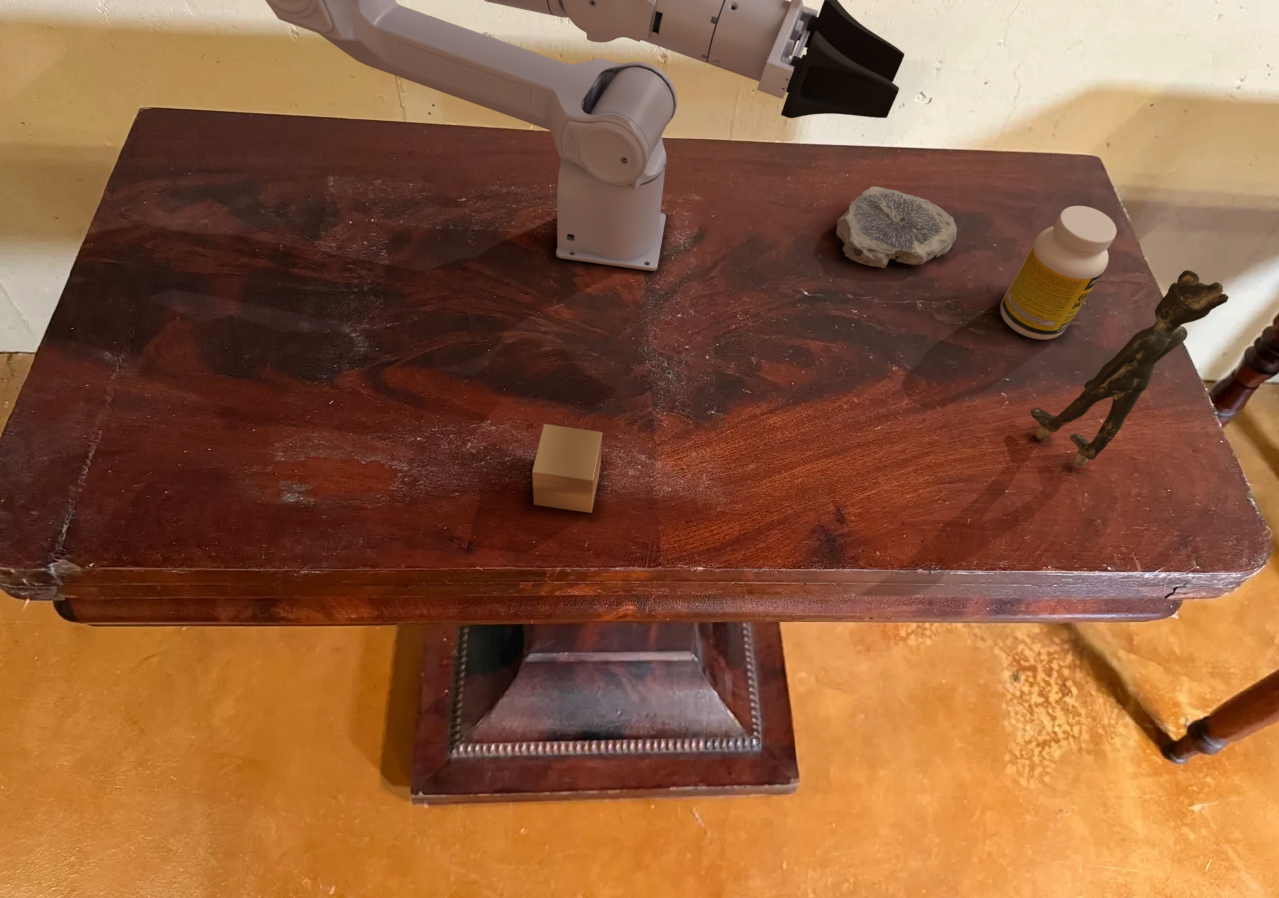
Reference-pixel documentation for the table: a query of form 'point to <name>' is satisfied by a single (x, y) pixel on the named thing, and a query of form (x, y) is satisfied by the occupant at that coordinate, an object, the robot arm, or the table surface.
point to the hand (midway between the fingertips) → (896, 84)
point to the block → (567, 468)
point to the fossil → (894, 228)
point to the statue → (1134, 364)
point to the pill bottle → (1058, 273)
